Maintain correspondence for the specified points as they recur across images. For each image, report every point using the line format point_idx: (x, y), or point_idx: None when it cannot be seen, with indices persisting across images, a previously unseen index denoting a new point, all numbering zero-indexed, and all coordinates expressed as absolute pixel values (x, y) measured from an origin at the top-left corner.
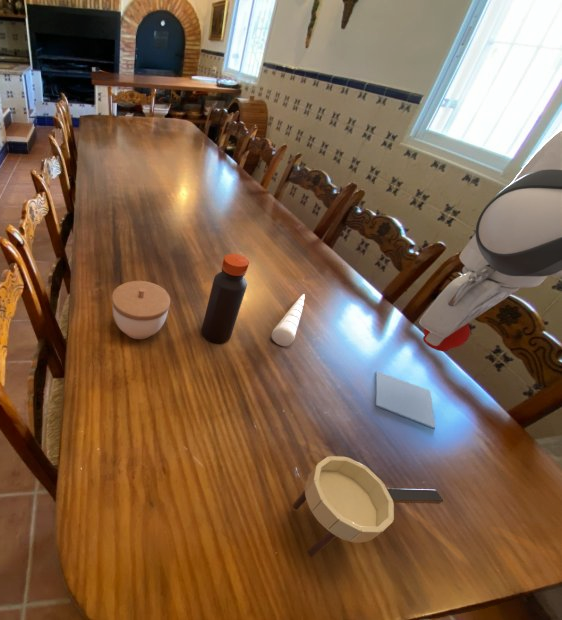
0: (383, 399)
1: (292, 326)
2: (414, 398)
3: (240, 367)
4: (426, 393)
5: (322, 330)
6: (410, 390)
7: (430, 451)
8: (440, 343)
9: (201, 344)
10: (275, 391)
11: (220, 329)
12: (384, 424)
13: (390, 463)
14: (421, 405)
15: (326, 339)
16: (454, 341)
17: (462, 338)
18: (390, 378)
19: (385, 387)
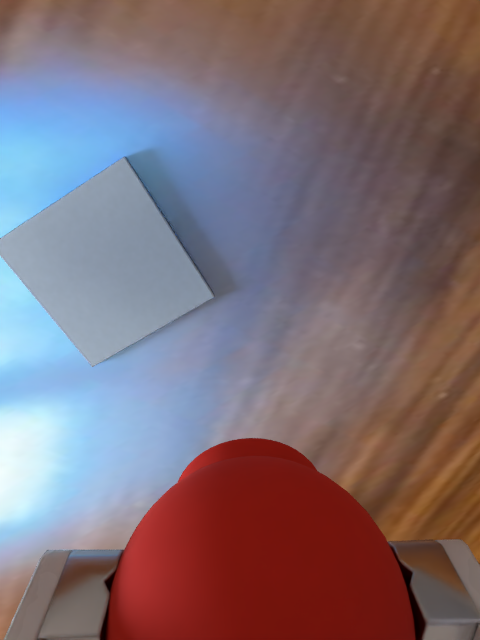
0: (175, 297)
1: None
2: (76, 253)
3: (413, 514)
4: (16, 244)
5: (102, 516)
6: (59, 276)
7: (218, 121)
8: (426, 547)
9: None
10: (406, 438)
11: None
12: (251, 246)
13: (362, 165)
14: (82, 227)
15: (122, 492)
16: (378, 544)
17: (344, 562)
18: (77, 332)
19: (126, 319)
